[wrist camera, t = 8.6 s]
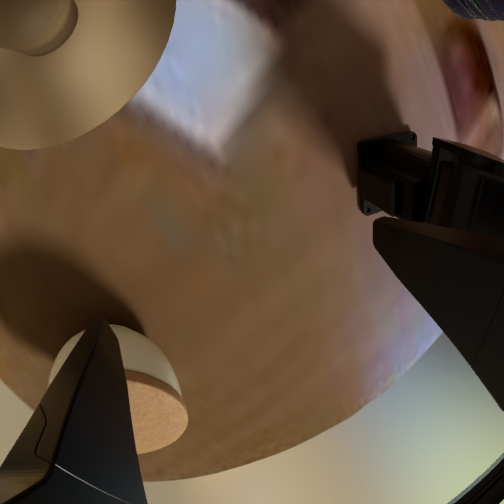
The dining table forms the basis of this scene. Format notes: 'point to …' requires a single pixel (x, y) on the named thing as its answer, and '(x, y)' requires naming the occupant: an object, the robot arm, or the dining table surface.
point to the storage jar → (477, 9)
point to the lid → (74, 64)
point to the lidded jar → (144, 389)
